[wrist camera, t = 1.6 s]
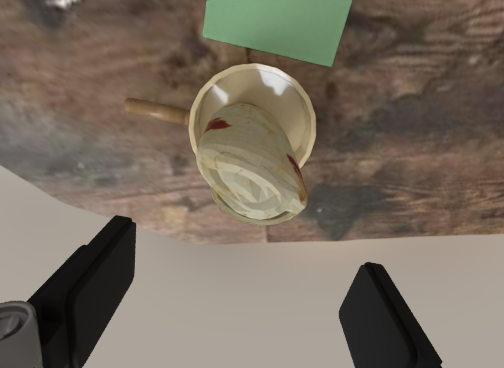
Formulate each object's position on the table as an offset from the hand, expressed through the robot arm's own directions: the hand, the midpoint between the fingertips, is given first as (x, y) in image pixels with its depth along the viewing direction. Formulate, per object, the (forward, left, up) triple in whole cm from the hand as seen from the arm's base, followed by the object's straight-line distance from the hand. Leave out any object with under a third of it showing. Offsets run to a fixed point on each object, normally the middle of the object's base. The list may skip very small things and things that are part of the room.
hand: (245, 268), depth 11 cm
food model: (0, 0, -28) cm, 28 cm away
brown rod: (-11, 0, -25) cm, 27 cm away
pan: (0, 0, -28) cm, 28 cm away
